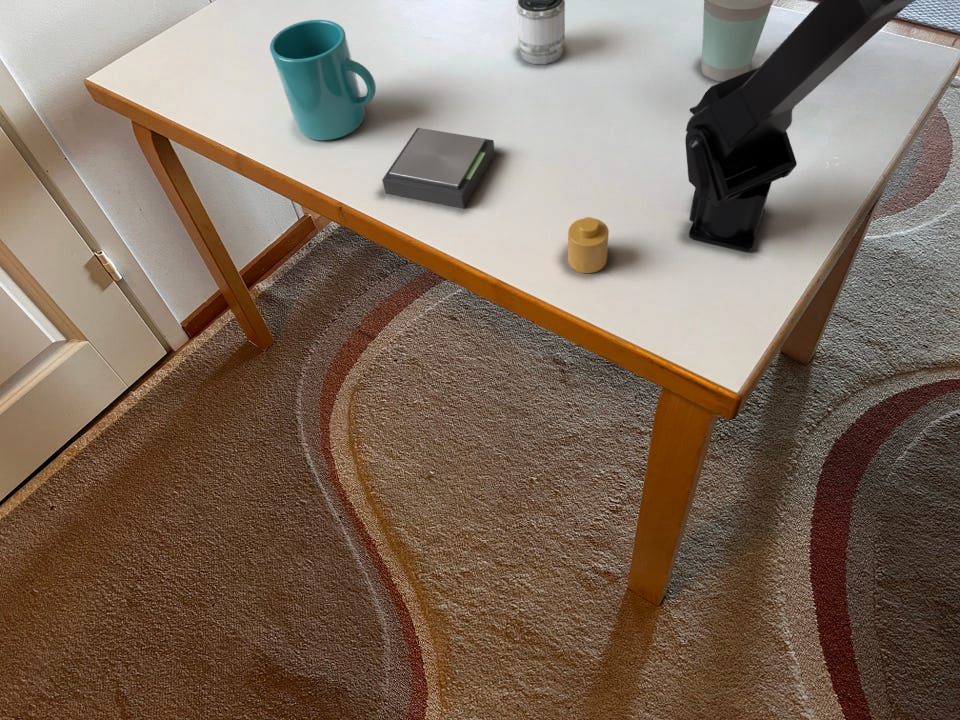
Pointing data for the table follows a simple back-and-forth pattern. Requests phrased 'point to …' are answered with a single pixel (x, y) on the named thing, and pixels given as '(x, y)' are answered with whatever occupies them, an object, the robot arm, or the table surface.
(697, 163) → the robot arm
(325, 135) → the cup
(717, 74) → the coffee cup
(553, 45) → the camera lens
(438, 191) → the scale
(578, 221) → the brass weight
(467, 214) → the table surface
